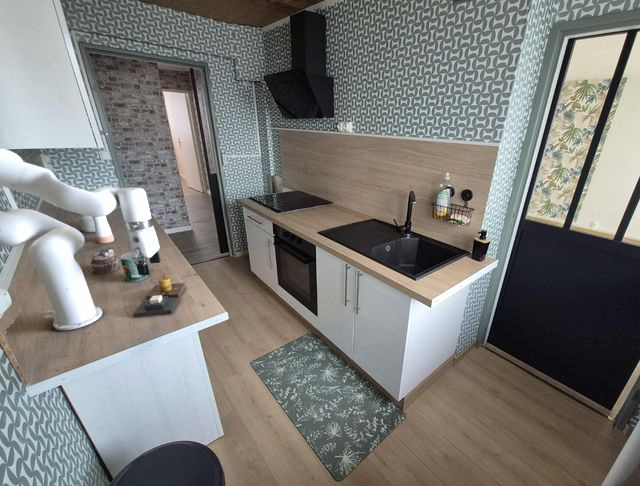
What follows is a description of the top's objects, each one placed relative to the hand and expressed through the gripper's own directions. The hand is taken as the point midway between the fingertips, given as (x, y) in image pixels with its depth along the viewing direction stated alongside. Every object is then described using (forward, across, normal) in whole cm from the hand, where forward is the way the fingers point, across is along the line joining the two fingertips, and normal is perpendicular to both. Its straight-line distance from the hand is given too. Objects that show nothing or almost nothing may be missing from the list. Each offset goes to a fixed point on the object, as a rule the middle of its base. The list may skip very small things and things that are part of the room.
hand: (150, 268), depth 106 cm
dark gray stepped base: (+16, -1, 0) cm, 16 cm away
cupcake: (+17, +36, +34) cm, 52 cm away
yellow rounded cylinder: (+14, +9, 0) cm, 16 cm away
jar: (+17, +97, +67) cm, 120 cm away
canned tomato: (+17, +26, +18) cm, 36 cm away
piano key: (+13, -1, 0) cm, 13 cm away
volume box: (+16, +9, 0) cm, 19 cm away
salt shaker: (+17, +75, +52) cm, 93 cm away
